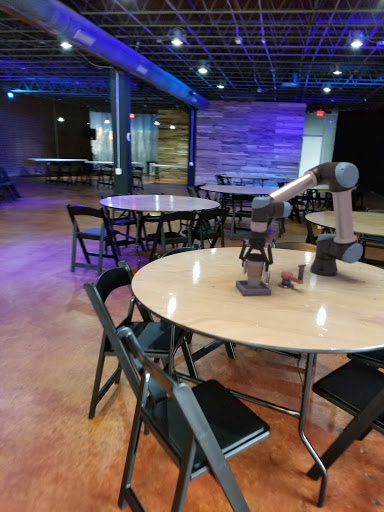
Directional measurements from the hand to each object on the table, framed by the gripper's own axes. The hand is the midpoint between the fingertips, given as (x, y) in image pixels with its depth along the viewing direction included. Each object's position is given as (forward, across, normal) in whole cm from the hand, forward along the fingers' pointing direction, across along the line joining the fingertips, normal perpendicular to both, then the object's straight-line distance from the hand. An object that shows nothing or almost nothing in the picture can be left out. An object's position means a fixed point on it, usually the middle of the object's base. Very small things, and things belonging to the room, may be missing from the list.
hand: (254, 275), depth 167 cm
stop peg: (+8, +2, +14) cm, 17 cm away
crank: (+4, +15, +16) cm, 22 cm away
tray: (+8, 0, 0) cm, 8 cm away
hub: (+8, +11, +17) cm, 22 cm away
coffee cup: (+5, 0, 0) cm, 5 cm away
